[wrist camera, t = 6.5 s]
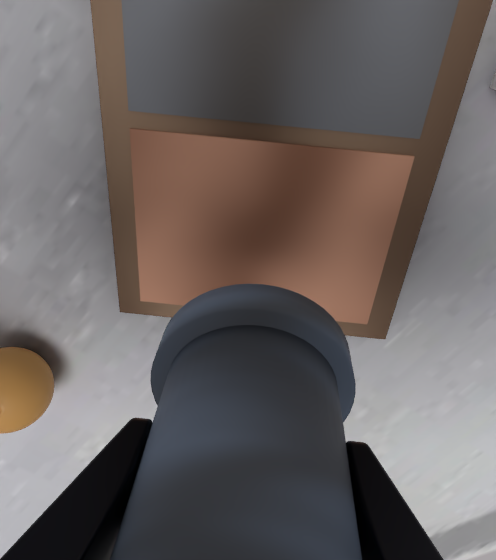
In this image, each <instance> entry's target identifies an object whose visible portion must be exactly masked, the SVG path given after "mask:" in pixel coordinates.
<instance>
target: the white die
mask: <svg viewBox="0 0 496 560" xmlns="http://www.w3.org/2000/svg"><path fill="white" fill-rule="evenodd" d="M490 88H491V89H494V90H496V70H495V73H494V76H493V79H492V82H491V85H490Z"/></svg>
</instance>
